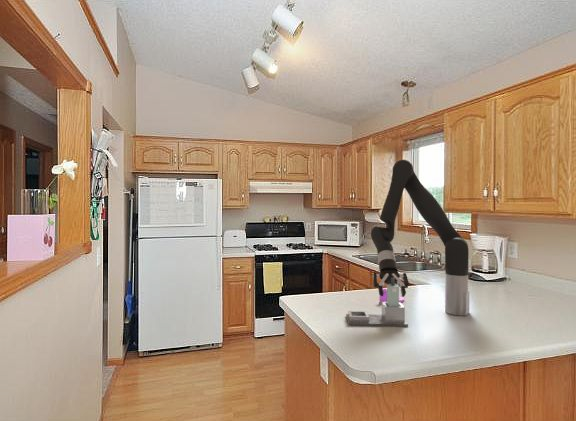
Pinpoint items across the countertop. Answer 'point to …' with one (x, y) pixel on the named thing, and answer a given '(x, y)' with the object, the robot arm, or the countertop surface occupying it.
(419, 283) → the countertop surface
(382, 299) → the bracket
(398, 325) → the dark gray base plate
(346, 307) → the countertop surface
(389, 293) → the grey bottle
